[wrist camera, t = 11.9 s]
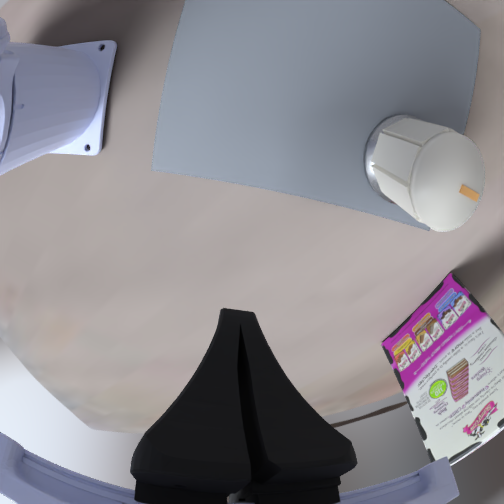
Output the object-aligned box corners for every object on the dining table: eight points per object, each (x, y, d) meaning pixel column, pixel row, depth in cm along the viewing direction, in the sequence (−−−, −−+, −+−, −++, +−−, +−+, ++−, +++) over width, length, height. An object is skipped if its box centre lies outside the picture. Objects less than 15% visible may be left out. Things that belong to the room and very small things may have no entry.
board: (155, 166, 17) (151, 170, 16) (218, -73, 8) (217, -79, 7) (422, 225, 20) (429, 231, 19) (473, 30, 11) (480, 29, 10)
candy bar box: (401, 352, 29) (449, 467, 15) (378, 343, 27) (430, 475, 13) (466, 287, 24) (542, 395, 10) (451, 269, 23) (542, 392, 9)
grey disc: (351, 189, 17) (377, 213, 14) (378, 99, 14) (412, 103, 11) (420, 211, 18) (450, 236, 15) (446, 134, 15) (482, 147, 12)
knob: (362, 186, 17) (400, 219, 12) (387, 107, 14) (436, 115, 10) (422, 208, 18) (463, 241, 13) (446, 139, 15) (495, 158, 10)
